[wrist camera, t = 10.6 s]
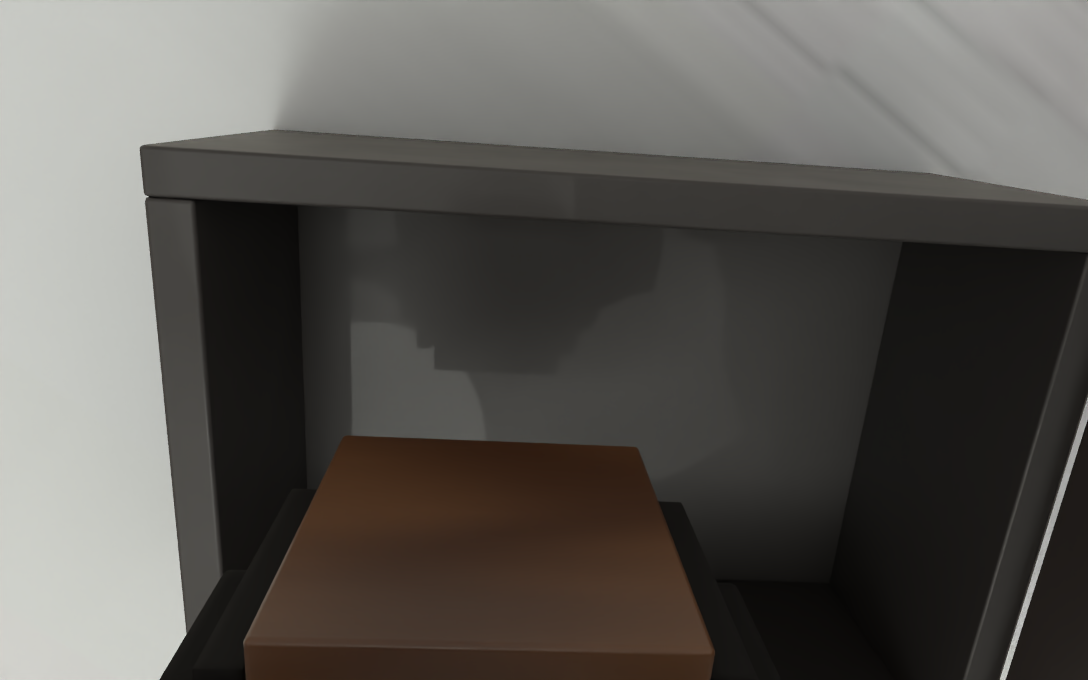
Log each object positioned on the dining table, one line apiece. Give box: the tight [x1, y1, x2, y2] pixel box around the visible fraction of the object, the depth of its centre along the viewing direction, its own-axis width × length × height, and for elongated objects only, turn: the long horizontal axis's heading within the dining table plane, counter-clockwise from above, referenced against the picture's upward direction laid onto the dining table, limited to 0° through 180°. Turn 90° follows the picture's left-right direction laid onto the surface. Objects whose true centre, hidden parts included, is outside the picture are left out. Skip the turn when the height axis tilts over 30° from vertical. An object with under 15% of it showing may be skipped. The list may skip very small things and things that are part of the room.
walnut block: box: [243, 435, 715, 680], centre depth 10 cm, size 5×5×5 cm
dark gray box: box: [140, 130, 1088, 680], centre depth 17 cm, size 17×13×7 cm
